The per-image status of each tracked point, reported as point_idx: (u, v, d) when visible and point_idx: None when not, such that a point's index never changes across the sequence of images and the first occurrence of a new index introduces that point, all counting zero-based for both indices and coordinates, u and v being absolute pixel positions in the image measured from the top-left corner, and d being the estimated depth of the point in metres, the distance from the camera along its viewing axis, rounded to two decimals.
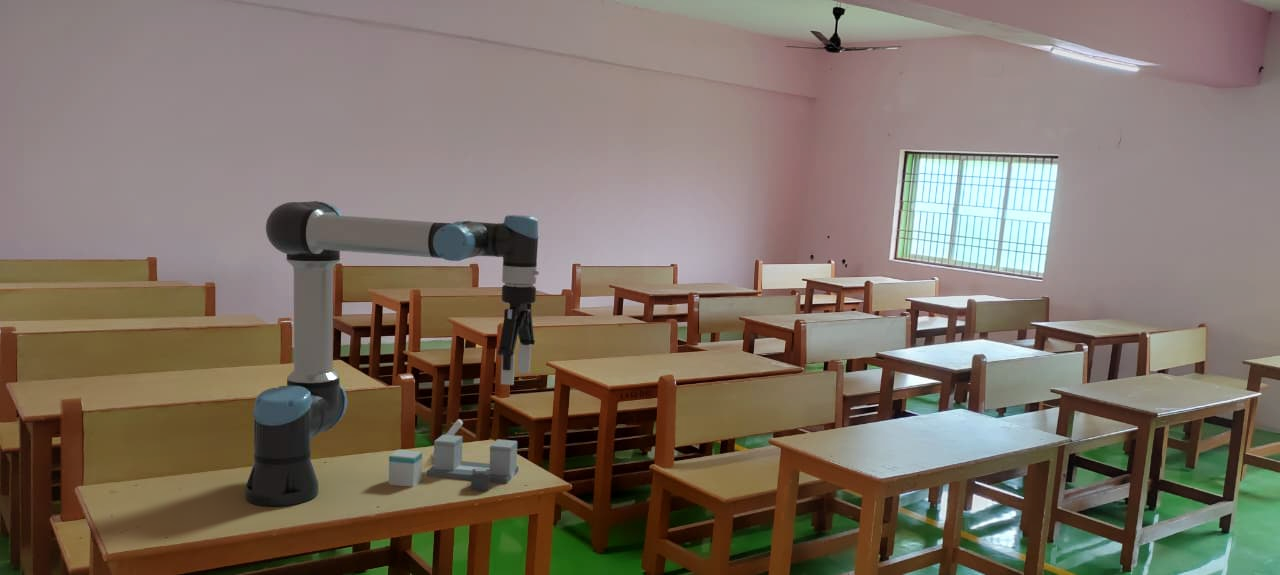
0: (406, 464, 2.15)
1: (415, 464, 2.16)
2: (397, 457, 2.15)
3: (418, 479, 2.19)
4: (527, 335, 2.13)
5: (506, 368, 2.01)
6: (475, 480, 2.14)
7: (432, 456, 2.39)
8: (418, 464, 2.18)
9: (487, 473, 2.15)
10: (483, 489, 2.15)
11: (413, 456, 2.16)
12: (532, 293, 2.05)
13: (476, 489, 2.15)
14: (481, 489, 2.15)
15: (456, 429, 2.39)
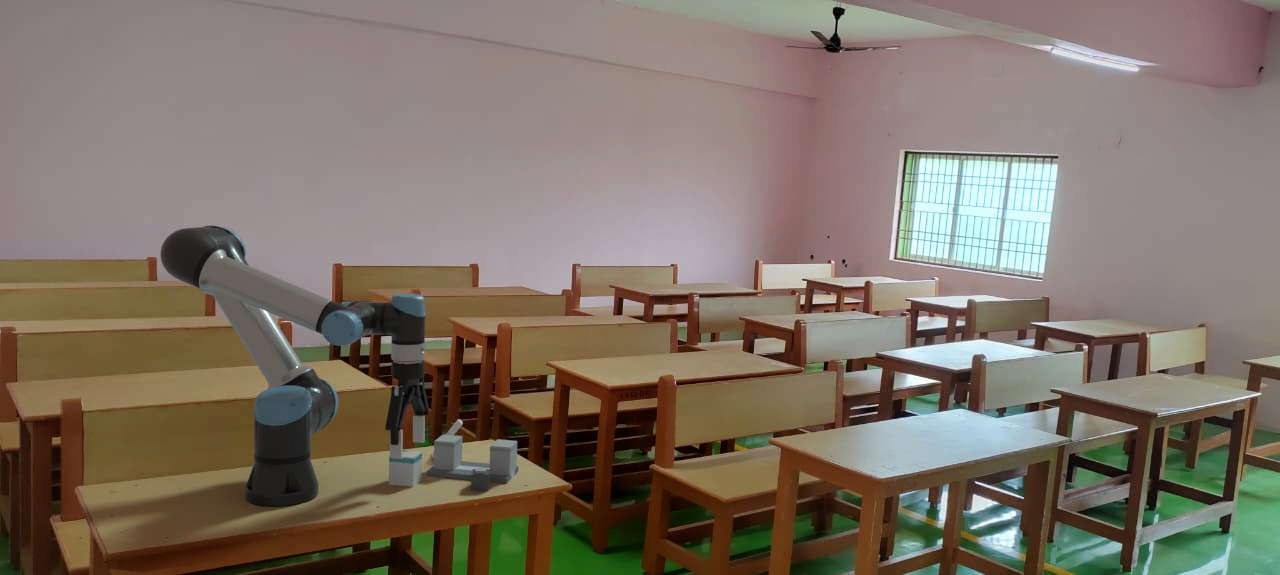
0: (406, 464, 2.15)
1: (415, 464, 2.16)
2: None
3: (418, 479, 2.19)
4: (420, 407, 2.22)
5: (394, 443, 2.09)
6: (475, 480, 2.14)
7: (432, 456, 2.39)
8: (418, 464, 2.18)
9: (487, 473, 2.15)
10: (483, 489, 2.15)
11: (413, 456, 2.16)
12: (420, 369, 2.14)
13: (476, 489, 2.15)
14: (481, 489, 2.15)
15: (456, 429, 2.39)
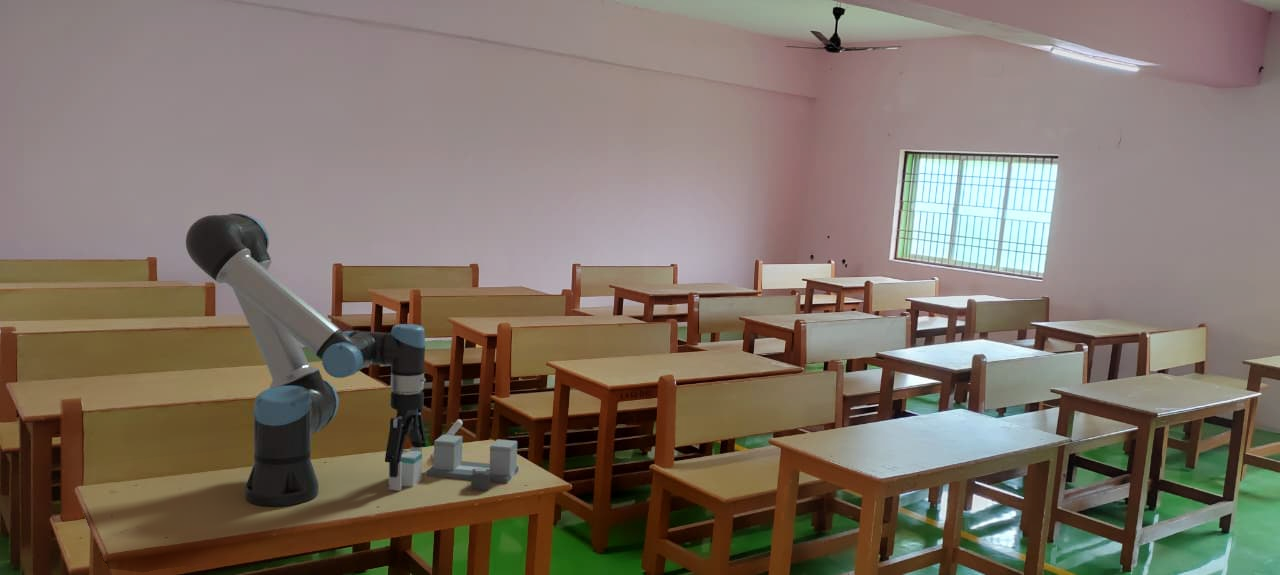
0: (406, 464, 2.15)
1: (415, 464, 2.16)
2: None
3: (418, 479, 2.19)
4: (418, 438, 2.22)
5: (393, 475, 2.10)
6: (475, 480, 2.14)
7: (432, 456, 2.39)
8: (418, 464, 2.18)
9: (487, 473, 2.15)
10: (483, 489, 2.15)
11: (413, 456, 2.16)
12: (419, 400, 2.14)
13: (476, 489, 2.15)
14: (481, 489, 2.15)
15: (456, 429, 2.39)
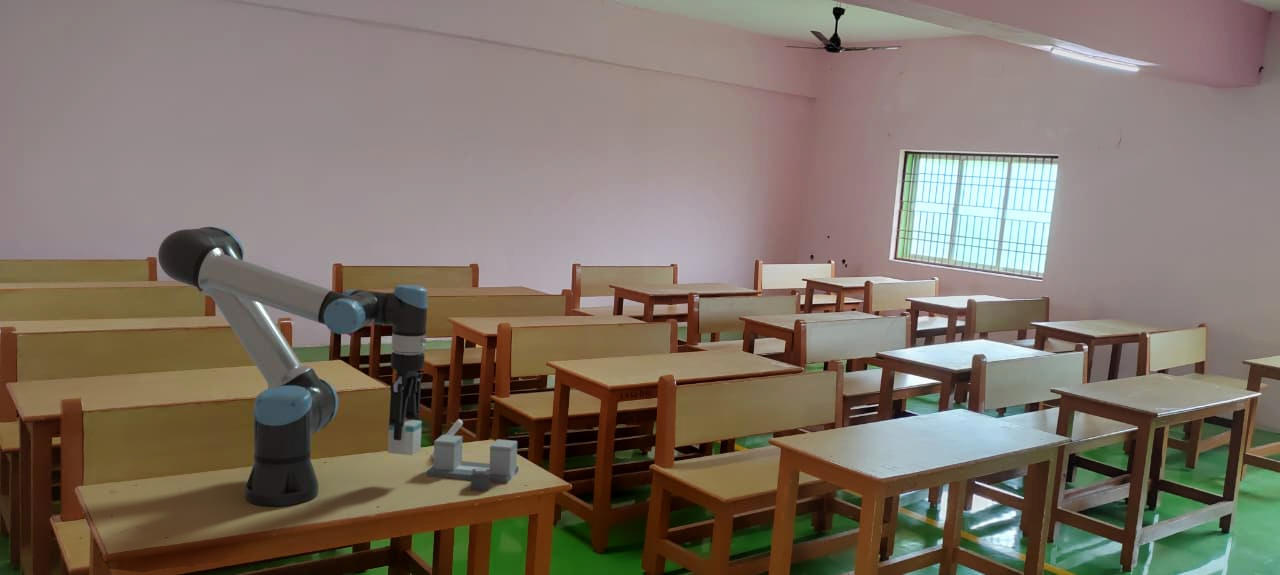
0: (406, 432, 2.14)
1: (414, 433, 2.15)
2: None
3: (418, 448, 2.18)
4: (413, 406, 2.19)
5: (396, 438, 2.13)
6: (475, 480, 2.14)
7: (432, 456, 2.39)
8: (418, 433, 2.17)
9: (487, 473, 2.15)
10: (483, 489, 2.15)
11: (413, 424, 2.15)
12: (420, 361, 2.13)
13: (476, 489, 2.15)
14: (481, 489, 2.15)
15: (456, 429, 2.39)
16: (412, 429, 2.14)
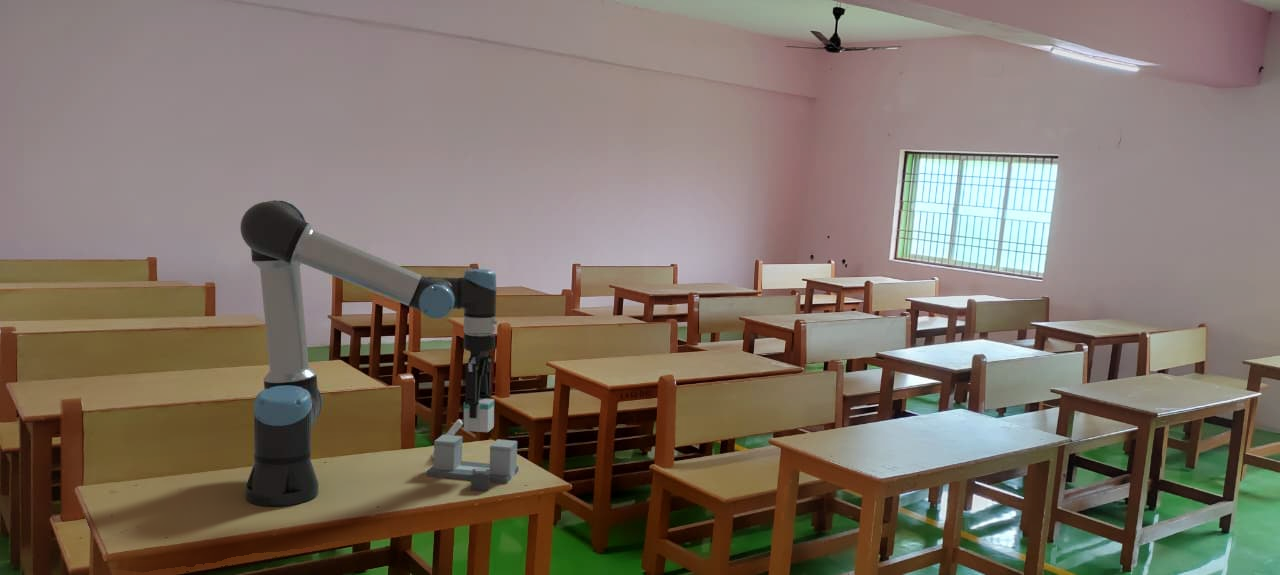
0: (480, 410, 2.23)
1: (489, 410, 2.24)
2: None
3: (491, 425, 2.26)
4: (485, 386, 2.27)
5: (472, 416, 2.21)
6: (475, 480, 2.14)
7: (432, 456, 2.39)
8: (491, 410, 2.26)
9: (487, 473, 2.15)
10: (483, 489, 2.15)
11: (487, 402, 2.23)
12: (491, 341, 2.22)
13: (476, 489, 2.15)
14: (481, 489, 2.15)
15: (456, 429, 2.39)
16: (486, 407, 2.23)
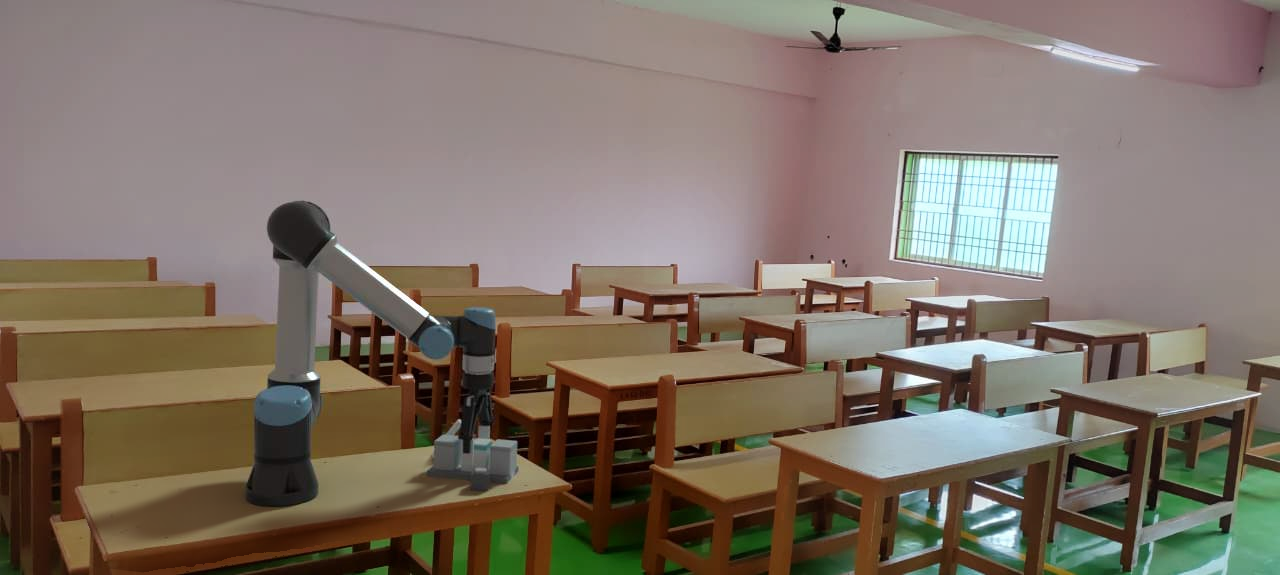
0: (478, 451, 2.24)
1: (487, 451, 2.25)
2: None
3: (489, 466, 2.27)
4: (486, 417, 2.31)
5: (466, 451, 2.19)
6: (475, 480, 2.14)
7: (432, 456, 2.39)
8: (489, 451, 2.27)
9: (487, 473, 2.15)
10: (483, 489, 2.15)
11: (485, 443, 2.24)
12: (490, 380, 2.23)
13: (476, 489, 2.15)
14: (481, 489, 2.15)
15: (456, 429, 2.39)
16: (485, 448, 2.24)
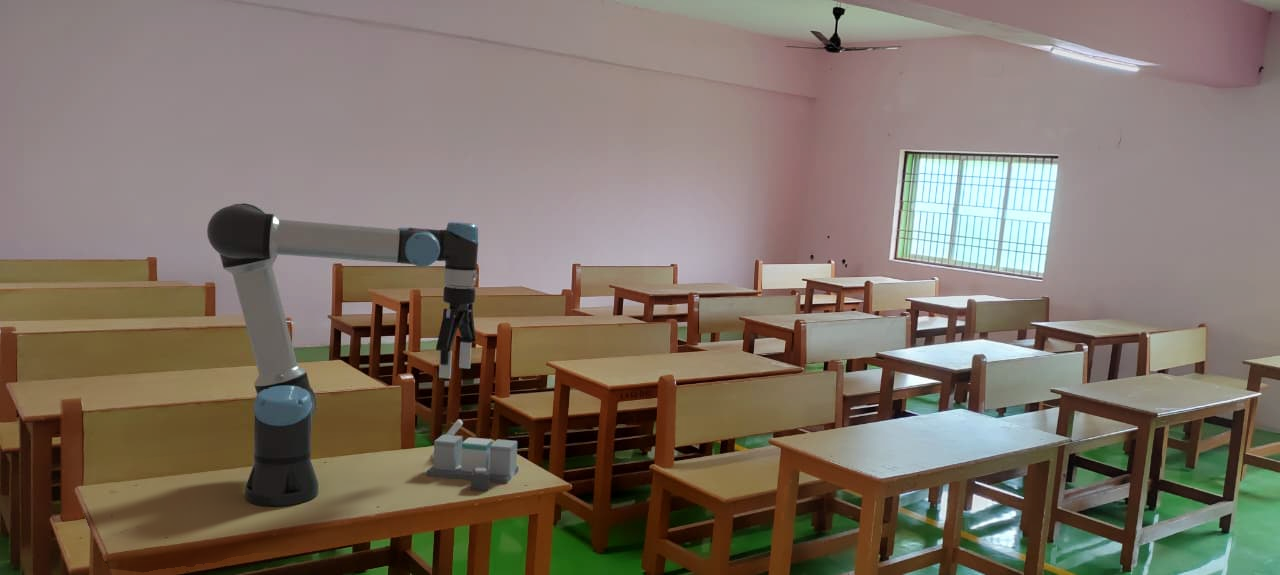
0: (478, 451, 2.24)
1: (487, 451, 2.25)
2: (470, 444, 2.24)
3: (489, 466, 2.27)
4: (468, 333, 2.31)
5: (443, 362, 2.18)
6: (475, 480, 2.14)
7: (432, 456, 2.39)
8: (489, 451, 2.27)
9: (487, 473, 2.15)
10: (483, 489, 2.15)
11: (485, 443, 2.24)
12: (471, 294, 2.23)
13: (476, 489, 2.15)
14: (481, 489, 2.15)
15: (456, 429, 2.39)
16: (485, 448, 2.24)
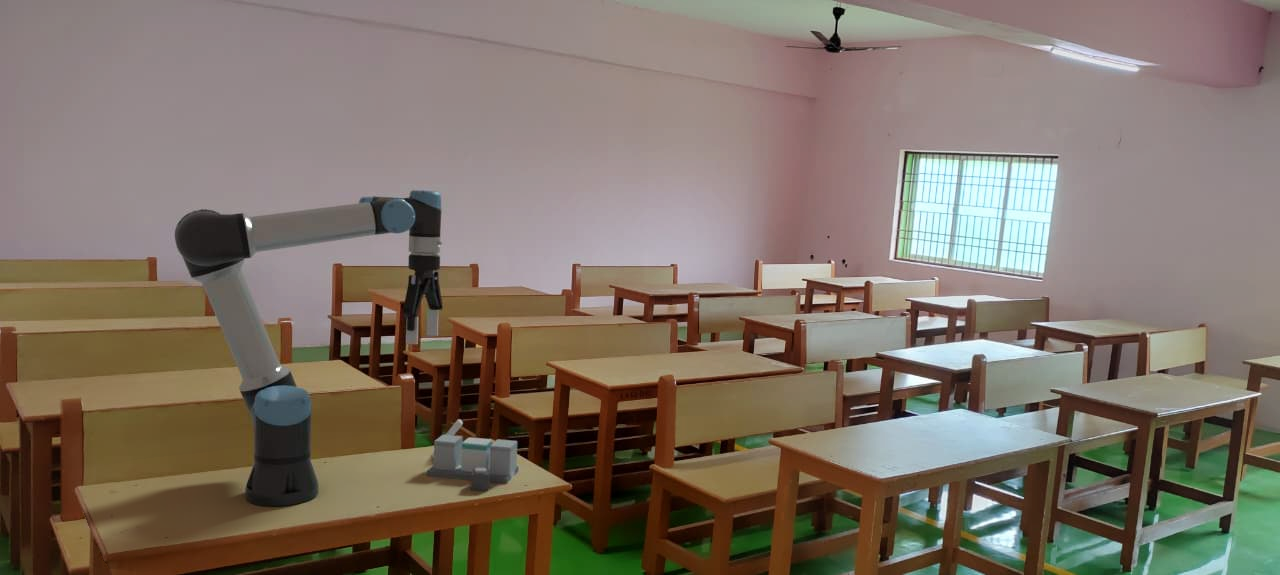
0: (478, 451, 2.24)
1: (487, 451, 2.25)
2: (470, 444, 2.24)
3: (489, 466, 2.27)
4: (434, 301, 2.33)
5: (410, 328, 2.20)
6: (475, 480, 2.14)
7: (432, 456, 2.39)
8: (489, 451, 2.27)
9: (487, 473, 2.15)
10: (483, 489, 2.15)
11: (485, 443, 2.24)
12: (436, 261, 2.25)
13: (476, 489, 2.15)
14: (481, 489, 2.15)
15: (456, 429, 2.39)
16: (485, 448, 2.24)
